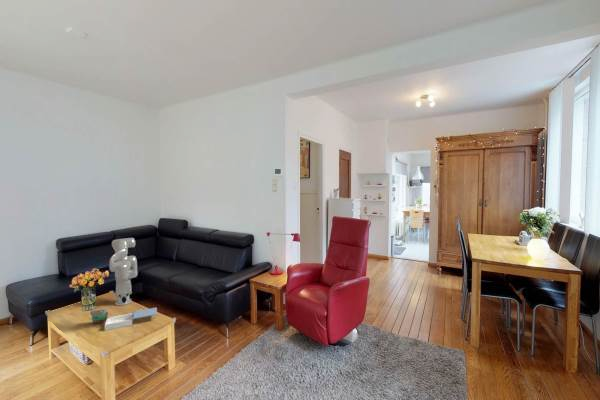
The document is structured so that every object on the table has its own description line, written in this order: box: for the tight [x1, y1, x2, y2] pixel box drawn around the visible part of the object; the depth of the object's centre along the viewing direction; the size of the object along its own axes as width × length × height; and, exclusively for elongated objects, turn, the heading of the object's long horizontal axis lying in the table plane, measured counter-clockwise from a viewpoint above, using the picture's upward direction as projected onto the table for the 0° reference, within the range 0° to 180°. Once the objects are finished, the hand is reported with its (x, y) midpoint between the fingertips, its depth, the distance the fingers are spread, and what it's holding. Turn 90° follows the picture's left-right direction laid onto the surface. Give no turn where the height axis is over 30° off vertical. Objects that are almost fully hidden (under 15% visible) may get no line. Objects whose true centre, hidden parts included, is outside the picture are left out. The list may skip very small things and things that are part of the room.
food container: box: [90, 308, 109, 326], centre depth 214 cm, size 12×6×10 cm, turn 105°
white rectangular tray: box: [104, 312, 134, 332], centre depth 213 cm, size 12×17×4 cm
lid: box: [131, 307, 158, 320], centre depth 221 cm, size 12×17×3 cm
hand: (124, 302), depth 214 cm, fingers closed
